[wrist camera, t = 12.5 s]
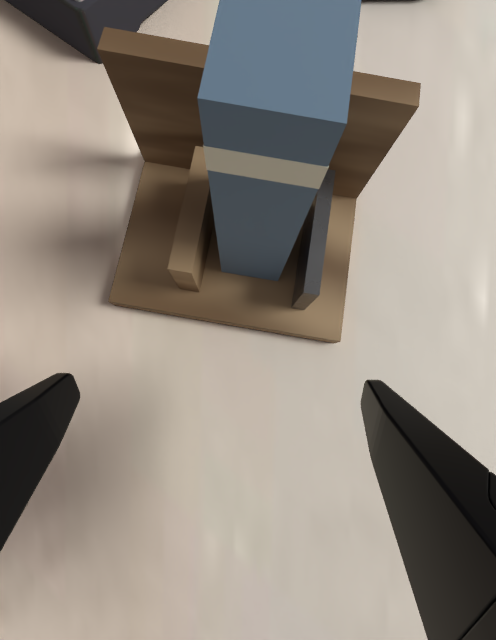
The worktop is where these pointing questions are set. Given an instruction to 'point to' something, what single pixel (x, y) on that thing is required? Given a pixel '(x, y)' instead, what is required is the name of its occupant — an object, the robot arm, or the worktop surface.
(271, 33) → the blue tall block
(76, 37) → the calculator
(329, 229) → the stand
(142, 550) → the worktop surface
